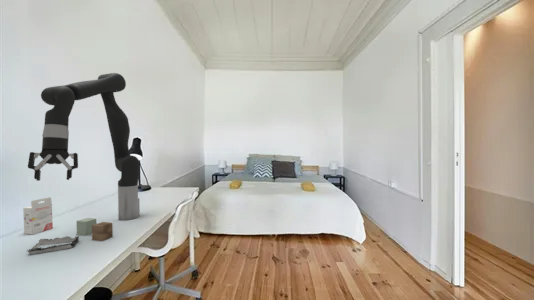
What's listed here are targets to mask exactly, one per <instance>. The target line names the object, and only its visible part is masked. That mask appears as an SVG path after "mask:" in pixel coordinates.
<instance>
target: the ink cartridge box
mask: <svg viewBox="0 0 534 300" xmlns="http://www.w3.org/2000/svg"><path fill="white" fill-rule="evenodd" d="M30 202H31V205H30V206H23V210H22V211H23V233H24V235H35V234H40V233H43V232H46V231H48V230H52V229H53V228H54V227H53V203H52V197H45V198H39V199H35V200H34V199H33V200H30Z"/></svg>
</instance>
